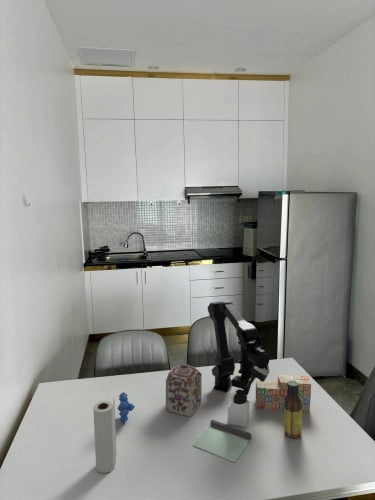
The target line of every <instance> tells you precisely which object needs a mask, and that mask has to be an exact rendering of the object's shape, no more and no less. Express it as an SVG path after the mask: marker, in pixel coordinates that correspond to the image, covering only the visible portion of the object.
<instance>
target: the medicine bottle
mask: <svg viewBox="0 0 375 500" xmlns="http://www.w3.org/2000/svg"><path fill="white" fill-rule="evenodd" d="M230 395H231V396H230V401H229V404H228V406H227V425H230V426H235V425H236V426H237V427H240V428H247V426H248V425H247V424H248V421H249V418H250V400H248V395H247V393H246V392H245V391H244V390H243V389H240V388H237V389H233V390H232V391H231V393H230Z"/></svg>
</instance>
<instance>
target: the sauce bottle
mask: <svg viewBox="0 0 375 500" xmlns="http://www.w3.org/2000/svg"><path fill="white" fill-rule="evenodd" d="M287 387H288V394H287V395H286V397H285V399H284V410H283V417H284V418H283V419H284V420H283V430H284V433H285V435H286V436H287V437H289V438H290V439H291V438H292V439H298V438H300V437H302V431H303V411H302V406H301V404H302V402H301V400H300V398H299V395H298V388H299V383H298V382H296V381H288V382H287Z"/></svg>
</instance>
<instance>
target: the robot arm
mask: <svg viewBox="0 0 375 500" xmlns="http://www.w3.org/2000/svg"><path fill="white" fill-rule="evenodd" d="M207 312H208V316H209V318H210V319H211V320H212V322H213V326H214V335H215V343H216V349H217V350H216V351H217V356H216V357H215V361H214V363H215V365H214V367H212V369H211V375H212V376H214V386H213V389H214V390H217V391H221V392H224V393H227V392H228V390H229V389H231V388H232V387H234V388H237V389H241V390H244V391H245V392H246V393H247V396H248V395H249V394H250V390H251V386H252V384H253V382H254V381H255V380H256V379H257V380H258V381H262V382H264V381H266V380H267V377H269V374H270V368H269V363H270V357H269V356H268V354H267V353H266V351H265V350H264V349H262V347H264V344H263V340H262V338H261V335H260V334H259V331H258V329H257V327H255V325H253V324H252V323H250V322H248V321H246V320H245V319H244V318H243V315H241V314H240V312H239V311H238V309H237V308H236V307H235V306H234V304H233V302H232V301H231V300H226V301H213V302H209V304H208V305H207ZM226 318H228V320H229V321H230V323H231V324H232V325H233V326H234V328H235V330H236V331H235V332H236V333H235V334H236V337H237V339H238V341H237V344H238V345H239V346H240V351H239V352H240V353H239V354H240V356H239V357H240V359H239V360H238V364H240V365H239V369H238V372H237V373H238V374H241V375H235V376H234V377H233V378H231V376H233V375H234V373H235V371H236V370H235V369H236V364H235V359H234V357H232V355H230V353H229V352H230V351H229V346H228V338H227V337H228V336H227V332H226V324H225V322H226Z"/></svg>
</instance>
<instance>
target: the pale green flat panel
mask: <svg viewBox="0 0 375 500" xmlns="http://www.w3.org/2000/svg"><path fill="white" fill-rule="evenodd" d="M249 442H250V440H248V439H247V440H246V439H245V438H243V437H240V436H237V435H235V434H234V435H233V434H232V433H229V432H226V431H224V430H223V431H222V430H221V429H220V430H219V429H218V428H215V427H213V426H208V427H207V428H206V429H205V430H204V431H203V433H201V435H200V436H199V438H198V439H197V440H196V441H195V442H194V443H193V445H192V446H193V447H195V448H196V449H199V450H203V451H204V452H207V453H210V454H211V455H214V456H217V457H219V458H220V459H225V461H229V462H232V463H234V464H236V463H237V461H238V460H239V458H240V456H241V455H242V453H243V452H244V450H245V449H246V447H247V446H248V444H249Z"/></svg>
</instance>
